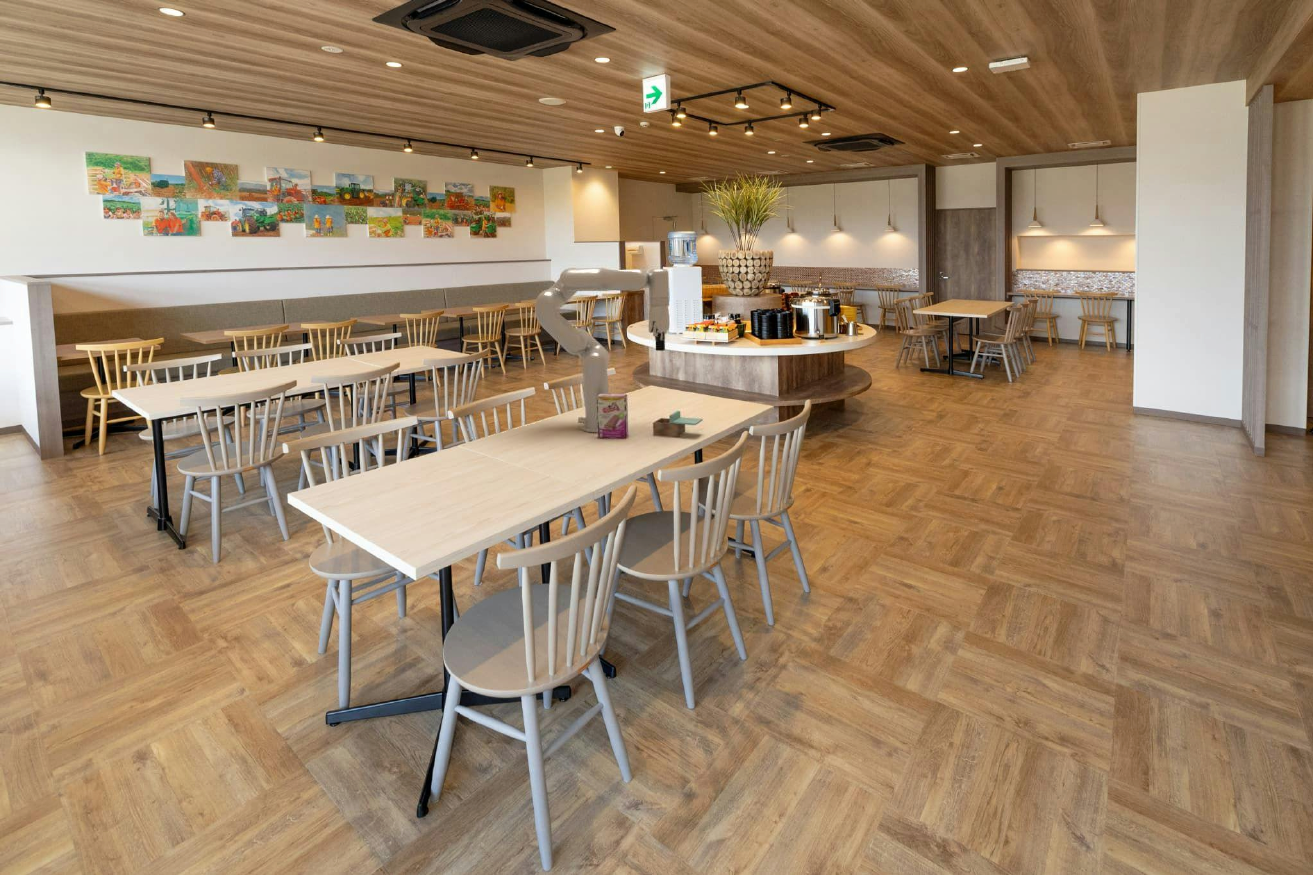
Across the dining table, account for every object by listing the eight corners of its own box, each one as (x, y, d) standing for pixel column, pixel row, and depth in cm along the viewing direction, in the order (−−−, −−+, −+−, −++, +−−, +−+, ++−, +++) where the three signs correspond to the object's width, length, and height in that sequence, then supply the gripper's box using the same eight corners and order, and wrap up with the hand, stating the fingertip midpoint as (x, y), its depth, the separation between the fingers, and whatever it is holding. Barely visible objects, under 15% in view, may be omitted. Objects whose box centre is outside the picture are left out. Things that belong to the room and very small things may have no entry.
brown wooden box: (653, 435, 281) (652, 422, 280) (661, 430, 288) (661, 417, 287) (677, 437, 277) (677, 424, 276) (685, 432, 284) (685, 419, 283)
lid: (669, 423, 277) (669, 415, 276) (677, 418, 284) (677, 410, 283) (695, 425, 273) (695, 417, 272) (702, 420, 280) (702, 412, 279)
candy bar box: (598, 438, 278) (596, 396, 274) (600, 435, 283) (598, 393, 279) (627, 438, 277) (625, 396, 273) (628, 435, 282) (627, 393, 278)
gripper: (658, 300, 286) (659, 347, 291) (641, 303, 273) (643, 352, 278) (675, 300, 283) (676, 348, 288) (660, 304, 270) (661, 353, 275)
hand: (660, 350), depth 283 cm, fingers closed
